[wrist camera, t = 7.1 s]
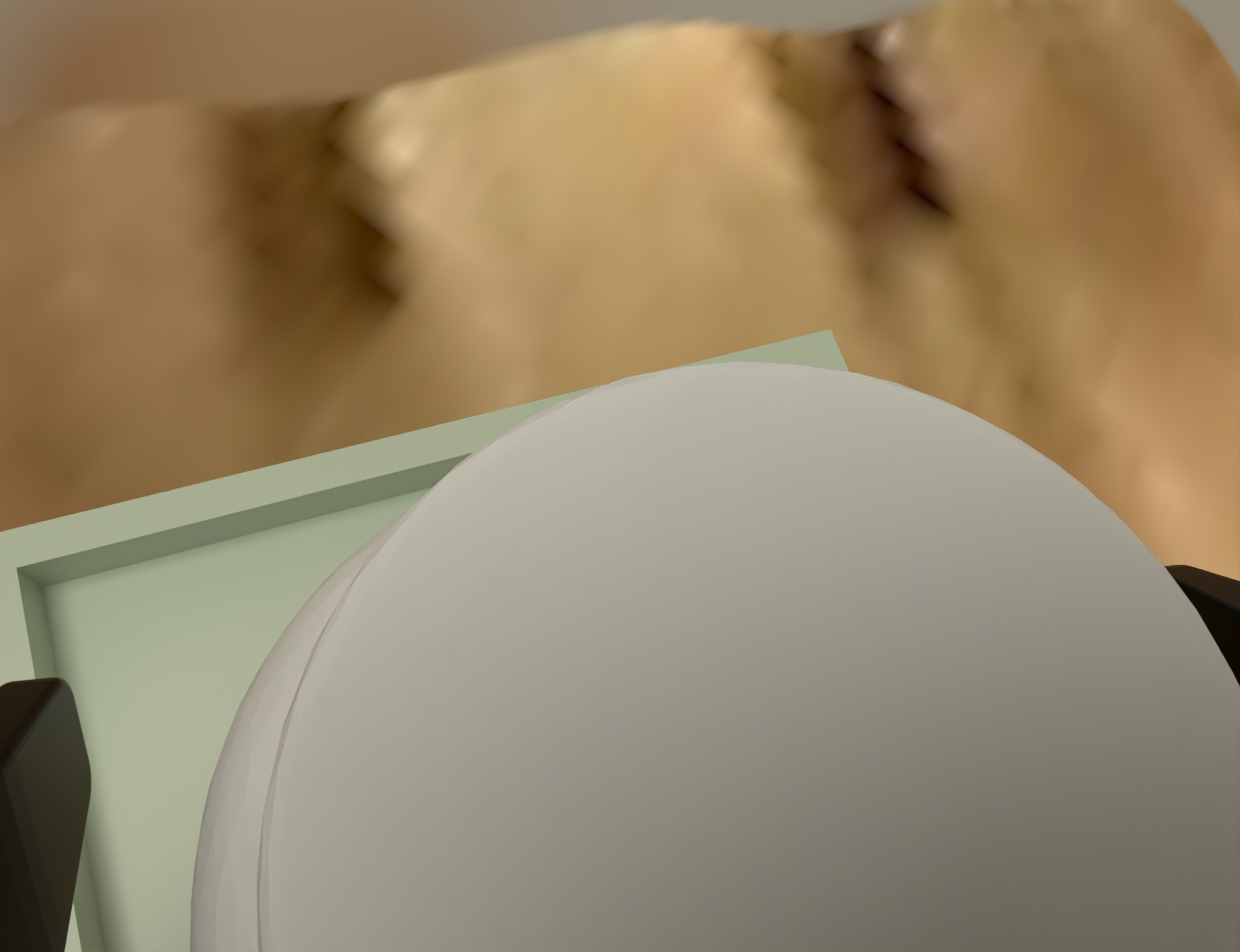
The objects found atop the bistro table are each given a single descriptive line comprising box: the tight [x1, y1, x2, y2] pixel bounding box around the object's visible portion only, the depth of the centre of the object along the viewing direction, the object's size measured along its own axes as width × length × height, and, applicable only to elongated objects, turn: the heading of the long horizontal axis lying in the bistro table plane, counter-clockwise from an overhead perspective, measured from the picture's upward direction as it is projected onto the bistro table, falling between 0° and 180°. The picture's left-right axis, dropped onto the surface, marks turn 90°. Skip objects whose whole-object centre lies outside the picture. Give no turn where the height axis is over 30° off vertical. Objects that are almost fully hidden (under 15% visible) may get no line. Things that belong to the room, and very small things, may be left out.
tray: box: [0, 329, 849, 952], centre depth 16 cm, size 14×14×2 cm
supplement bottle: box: [190, 361, 1240, 952], centre depth 11 cm, size 7×7×13 cm
